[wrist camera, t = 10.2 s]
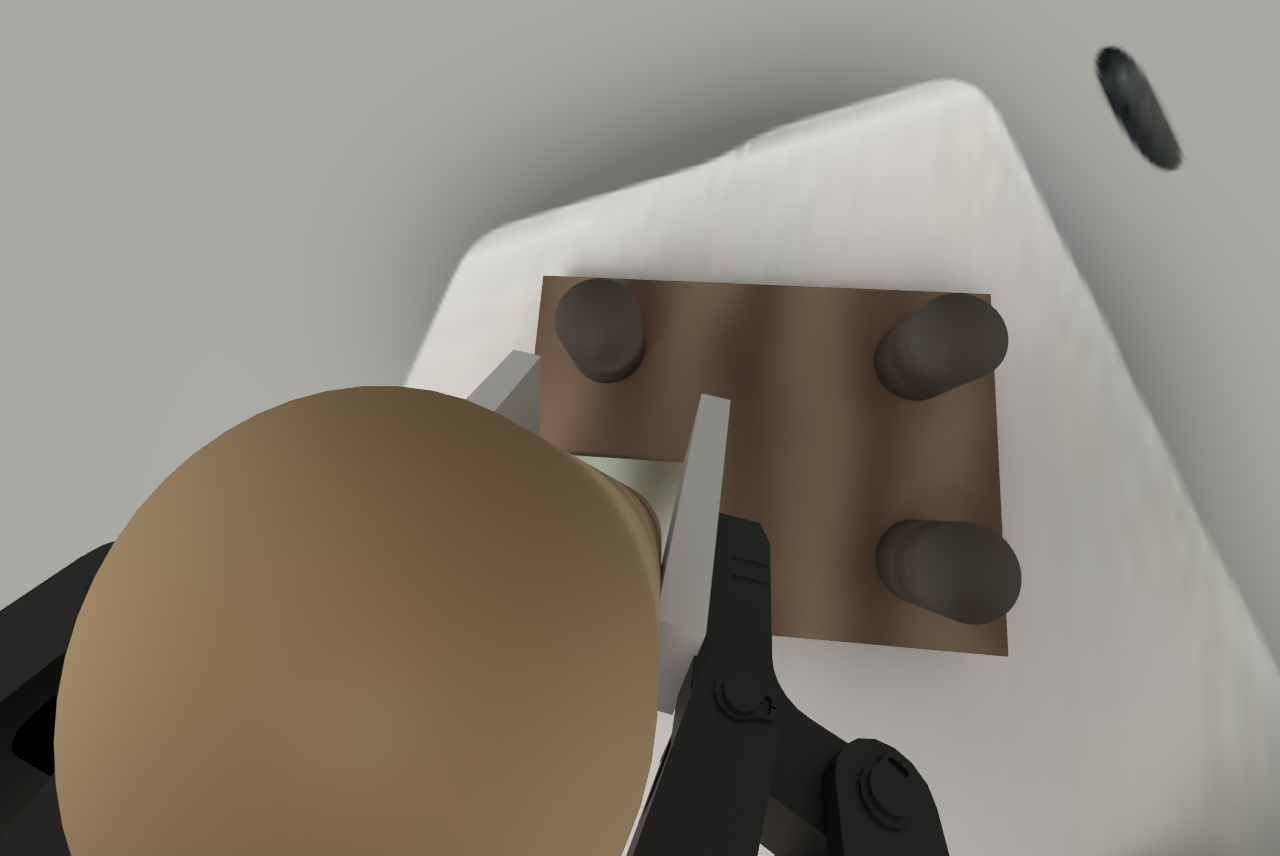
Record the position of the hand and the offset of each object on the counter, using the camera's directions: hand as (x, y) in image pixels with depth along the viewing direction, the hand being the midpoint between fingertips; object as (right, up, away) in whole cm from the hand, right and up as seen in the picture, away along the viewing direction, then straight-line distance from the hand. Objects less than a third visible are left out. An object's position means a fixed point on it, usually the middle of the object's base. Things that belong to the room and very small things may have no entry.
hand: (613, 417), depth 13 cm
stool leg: (-1, -5, +5) cm, 7 cm away
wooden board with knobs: (+7, -2, +14) cm, 16 cm away
